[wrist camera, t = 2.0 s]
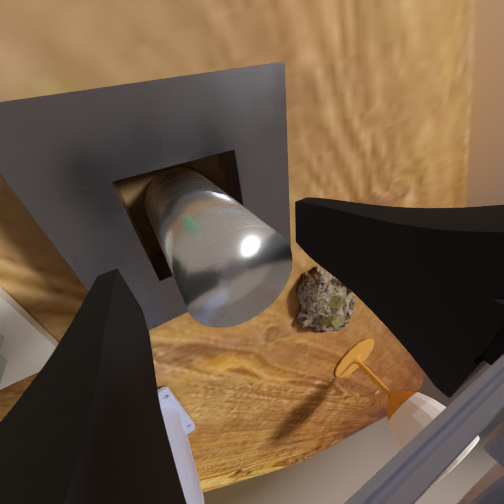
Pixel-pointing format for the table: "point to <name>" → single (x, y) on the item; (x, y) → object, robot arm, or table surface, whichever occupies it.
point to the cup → (399, 403)
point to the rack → (21, 343)
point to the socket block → (143, 164)
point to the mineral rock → (324, 302)
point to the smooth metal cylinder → (216, 249)
